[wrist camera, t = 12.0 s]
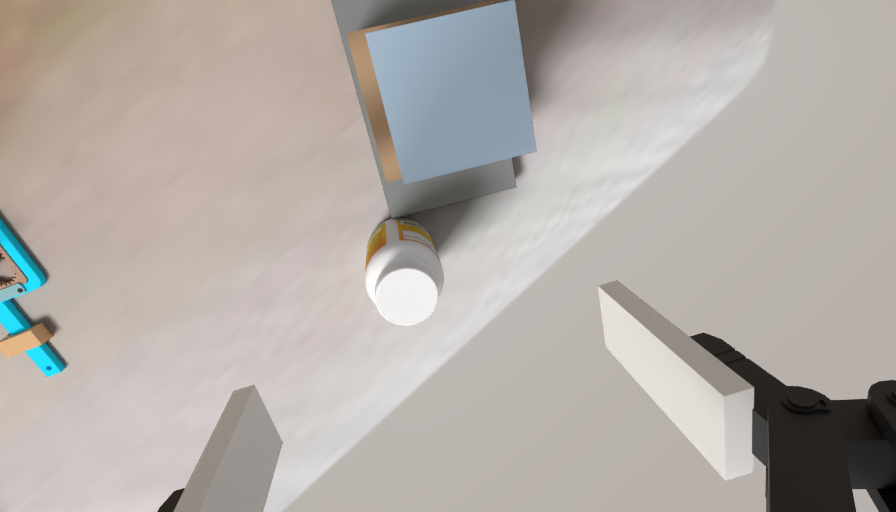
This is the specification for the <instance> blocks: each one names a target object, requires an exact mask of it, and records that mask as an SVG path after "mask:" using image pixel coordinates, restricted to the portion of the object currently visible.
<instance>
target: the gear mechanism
mask: <svg viewBox="0 0 896 512" xmlns="http://www.w3.org/2000/svg"><path fill="white" fill-rule="evenodd" d="M0 253H2V254H3V255H2V256H1V257H5V259H4V261H9V262H8V263H7V265H12V266H11V267H10V268H11V269H12V268H13V269H15V270H13V271H12V272H15V274H13V276H15V277H14V278H12V279H13V280H11V281H8V282H6V281H2V282H1V279H0V323H1V324H2V325H3V326H4V327H5V329H6V330H7V331H8V332H9V333H10V334H11V335H9V336H7V337H5V338H4V339H2V340H0V351H1V353H2V354H3V355H4V356H5V357H6V358H9V357H12V356H14V355H17V354H19V353H22V352H24V351H25V352H26V353H27V354H28V355H29V356H30V358H31V359H32V360H33V361H34V362H35V363H36V365H37V366H38V367H39V368H40V369H41V370H42V372H43V373H44V374H45V375H46V376H47V377H49V376H51V375H54V374H56V373H59V372H61V371H62V370H64V369H65V368H66V367H65V366H64V365H63V364H62V362H61V361H60V360H59V359H58V358H57V356H56V355H55V354H54V353H53V352H52V350H51V349H50V348H49V347H48V346H47V344H46V343H45V342H46V341H48V340H49V339H50V338H52V337H53V336H52V334H51V333H50V332H49V331H48V330H47V328H46V327H45V326H44V325H43V323H40V324H37V325H34V326H31V325H30V324H29V323H28V321H27V320H26V319H25V318H24V317H23V315H22V314H21V313H20V312H19V311H18V309H17V308H16V307H15V306H14V305H13V303H12V302H11V301H10V300H9V299H12V298H14V297H17V296H19V295H22V294H25V293H27V292H30V291H32V290H35V289H37V288H39V287H41V286H43V285H44V284H45V282H46V277H45V276H44V274H43V273H42V272H41V270H40V269H39V268H38V266H37V265H36V264H35V263H34V261H33V260H32V259H31V257H30V256H29V255H28V254H27V252H26V251H25V250H24V248H23V247H22V246H21V245H20V243H19V242H18V241H17V239H16V238H15V237H14V236H13V234H12V233H11V232H10V230H9V229H8V228H7V227H6V225H5V224H4V223H3V221H2V220H1V219H0Z"/></svg>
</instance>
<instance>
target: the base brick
mask: <svg viewBox="0 0 896 512" xmlns="http://www.w3.org/2000/svg"><path fill="white" fill-rule="evenodd" d="M493 4H495V3H494V0H491V1H486V2H482V3H478V4H473V5H469V6H464V7H460V8H455V9H451V10H447V11H442V12H438V13H433V14H429V15H425V16H420V17H416V18H411V19H407V20H402V21H398V22H394V23H389V24H385V25H380V26H376V27H372V28H367V29H363V30H358V31H354V32H350V33H346V35H347V39H348V43H349V46H350V50H351V54H352V57H353V61H354V65H355V68H356V72H357V76H358V79H359V83H360V87H361V90H362V94H363V98H364V101H365V105H366V109H367V112H368V116H369V120H370V123H371V127H372V131H373V135H374V138H375V142H376V146H377V149H378V153H379V157H380V160H381V164H382V168H383V171H384V175H385V179H386V182H390V181H394V180H398V179H402V174H401V171H400V167H399V163H398V159H397V155H396V152H395V148H394V144H393V140H392V136H391V132H390V128H389V125H388V121H387V117H386V113H385V109H384V105H383V101H382V98H381V94H380V90H379V86H378V82H377V78H376V74H375V71H374V67H373V63H372V59H371V55H370V51H369V47H368V43H367V39H366V35H365V34H366V33H370V32H375V31H379V30H384V29H388V28H392V27H397V26H401V25H405V24H410V23H414V22H419V21H423V20H427V19H432V18H436V17H440V16H445V15H449V14H454V13H458V12H462V11H467V10H471V9H475V8H480V7H484V6H489V5H493Z"/></svg>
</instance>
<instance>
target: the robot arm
mask: <svg viewBox="0 0 896 512" xmlns="http://www.w3.org/2000/svg"><path fill="white" fill-rule="evenodd" d="M598 290H599V298H600V305H601V313H602V320H603V328H604V336H605V343H606V347H607V349H608V350H609V351H610V352H611V353H612V354H613V355H614V356H615V358H616V359H617V360H618V361H619V362H620V363H621V364H622V365H623V366H624V367H625V369H626V370H627V371H628V372H629V373H630V374H631V375H632V376H633V378H634V379H635V380H636V381H637V382H638V383H639V384H640V385H641V387H642V388H643V389H644V390H645V391H646V392H647V393H648V394H649V396H650V397H651V398H652V399H653V400H654V401H655V402H656V403H657V404H658V406H659V407H660V408H661V409H662V410H663V411H664V412H665V413H666V415H667V416H668V417H669V418H670V419H671V420H672V421H673V422H674V423H675V425H677V427H678V428H679V429H680V430H681V431H682V432H683V433H684V435H685V436H686V437H687V438H688V439H689V440H690V441H691V442H692V443H693V445H694V446H695V447H696V448H697V449H698V450H699V451H700V452H701V453H702V455H703V456H704V457H705V458H706V459H707V460H708V461H709V462H710V464H711V465H712V466H713V467H714V468H715V469H716V470H717V471H718V473H719V474H720V475H721V476H722V477H723V478H724V479H725V480H729V479H733V478H735V477H739V476H742V475H745V474H749V473H752V472H753V455H755V456H756V457H757V458H758V459H759V460H760V461H761V462H762V463H763V464H764V465H765V466H766V493H765V494H766V495H765V496H766V512H856V508H855V503H854V497H853V492H852V489H866V490H867V492H868V493H869V495H870V497H871V499H872V500H873V502H874V504H875V506H876V507H877V509H878V511H879V512H896V381H894V380H889V381H880V382H877V383H875V384H873V385H871V387H870V389H869V391H868V399H854V400H830V399H829V398H827V397H826V396H825V395H823V394H821V393H819V392H817V391H814V390H812V389H808V388H803V387H799V386H786V385H784V384H783V383H782V382H780V381H779V380H778V379H776V378H775V377H773V376H772V375H770V374H769V373H767V372H766V371H765V370H763V369H762V368H761V367H759V366H758V365H757V364H755V363H754V362H752V361H751V360H750V359H746V357H745V356H744V355H743V354H741V353H740V352H738V351H735V349H734V348H733V347H731V346H730V345H729V344H727V343H726V342H724V341H723V340H722V339H719V338H716V337H714V336H711V335H708V334H706V333H701V334H697V335H694V336H691V337H689V336H688V335H686V334H685V333H684V332H683V331H681V330H680V329H679V328H678V327H676V326H675V325H674V324H672V323H671V322H670V321H669V320H667V319H666V318H664V317H663V316H662V315H661V314H660V313H658V312H657V311H656V310H654V309H653V308H652V307H651V306H649V305H648V304H647V303H646V302H644V301H643V300H642V299H640V298H639V297H638V296H637V295H635V294H634V293H633V292H631V291H630V290H628V288H626V287H625V286H624V285H622V284H621V283H620V282H618V281H613V282H610V283H606V284H603V285H599V286H598ZM282 443H283V442H282V440H281V438H280V436H279V434H278V432H277V430H276V428H275V426H274V424H273V422H272V420H271V418H270V416H269V414H268V411H267V409H266V407H265V405H264V403H263V401H262V399H261V397H260V395H259V393H258V391H257V389H256V387H255V385H253V386H249V387H246V388H242V389H239V390H235V391H233V393H232V395H231V397H230V399H229V401H228V403H227V405H226V407H225V409H224V411H223V413H222V415H221V417H220V419H219V421H218V423H217V425H216V427H215V429H214V431H213V433H212V435H211V437H210V439H209V441H208V443H207V445H206V447H205V449H204V451H203V453H202V455H201V457H200V459H199V461H198V463H197V465H196V467H195V469H194V471H193V473H192V475H191V477H190V479H189V481H188V483H187V485H186V487H185V488H183V489H180V490H176V491H174V492H173V493H172V494H171V496H170V497H169V498H168V499H167V500H166V501H165V502H164V503H163V505H162V506H161V507H160V508H159V510H158V512H263V510H264V506H265V503H266V499H267V496H268V492H269V489H270V485H271V482H272V478H273V475H274V471H275V468H276V464H277V461H278V457H279V454H280V450H281V446H282Z"/></svg>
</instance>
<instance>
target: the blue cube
mask: <svg viewBox="0 0 896 512" xmlns="http://www.w3.org/2000/svg"><path fill="white" fill-rule="evenodd" d="M365 35H366V39H367V43H368V47H369V51H370V55H371V59H372V63H373V67H374V71H375V74H376V78H377V82H378V86H379V90H380V94H381V98H382V101H383V105H384V109H385V113H386V117H387V121H388V125H389V128H390V132H391V136H392V140H393V144H394V148H395V152H396V155H397V159H398V163H399V167H400V171H401V174H402V178H403V182H404V184H408V183H412V182H416V181H420V180H424V179H428V178H432V177H436V176H440V175H444V174H448V173H452V172H456V171H460V170H464V169H468V168H472V167H476V166H481V165H485V164H489V163H493V162H497V161H501V160H505V159H509V158H513V157H517V156H521V155H525V154H529V153H533V152H537V150H536V143H535V136H534V129H533V122H532V115H531V108H530V101H529V94H528V88H527V81H526V74H525V67H524V60H523V53H522V46H521V39H520V32H519V26H518V19H517V12H516V5H515V0H510V1H506V2H502V3H497V4H493V5H489V6H484V7H480V8H475V9H471V10H467V11H462V12H458V13H454V14H449V15H445V16H440V17H436V18H432V19H427V20H423V21H419V22H414V23H410V24H405V25H401V26H397V27H392V28H388V29H384V30H379V31H375V32H370V33H366V34H365Z"/></svg>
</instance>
